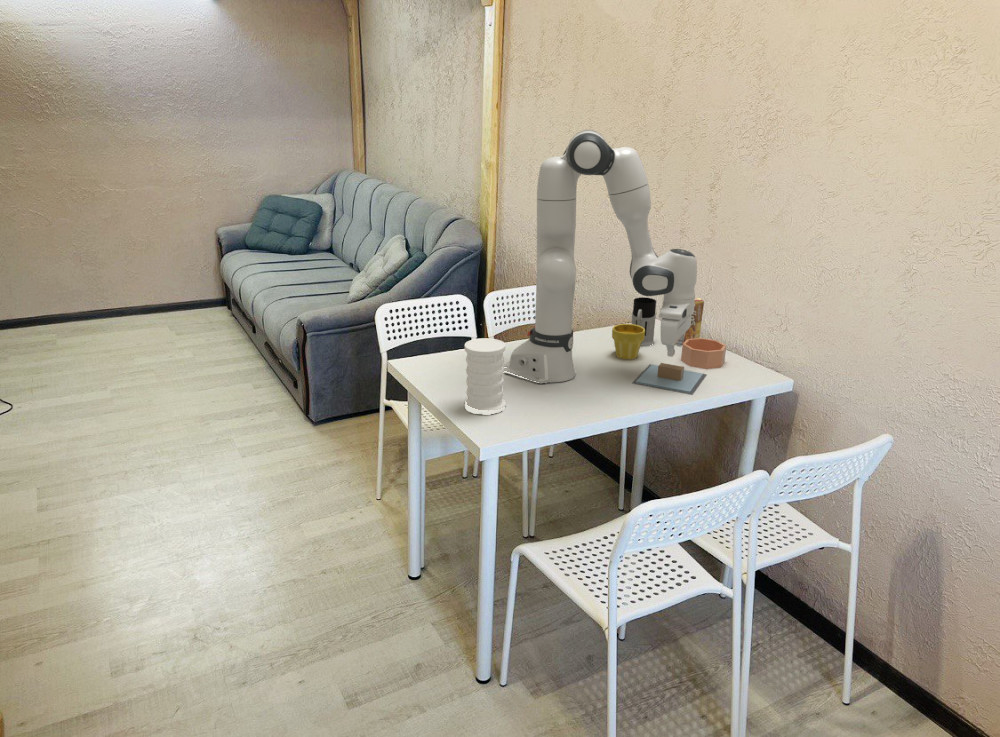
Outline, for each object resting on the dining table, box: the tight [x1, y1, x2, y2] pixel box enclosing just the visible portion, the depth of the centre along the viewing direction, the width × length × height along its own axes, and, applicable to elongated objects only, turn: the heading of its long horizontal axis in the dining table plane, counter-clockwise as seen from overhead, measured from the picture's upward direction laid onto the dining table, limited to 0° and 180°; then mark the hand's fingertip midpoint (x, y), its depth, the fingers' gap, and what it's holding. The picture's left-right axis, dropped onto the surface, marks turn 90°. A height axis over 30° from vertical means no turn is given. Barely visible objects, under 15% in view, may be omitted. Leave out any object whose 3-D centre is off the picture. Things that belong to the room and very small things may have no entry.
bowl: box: [680, 337, 727, 370], centre depth 225 cm, size 13×13×6 cm
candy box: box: [675, 297, 705, 345], centre depth 242 cm, size 9×4×15 cm, turn 103°
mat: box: [631, 364, 708, 396], centre depth 212 cm, size 18×18×1 cm
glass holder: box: [631, 296, 657, 347], centre depth 239 cm, size 9×14×15 cm, turn 158°
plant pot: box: [611, 323, 645, 360], centre depth 229 cm, size 10×10×10 cm
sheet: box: [636, 362, 704, 393], centre depth 211 cm, size 16×16×4 cm
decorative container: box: [464, 337, 507, 411], centre depth 190 cm, size 12×12×18 cm
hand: (675, 350), depth 209 cm, fingers open, 8 cm apart
